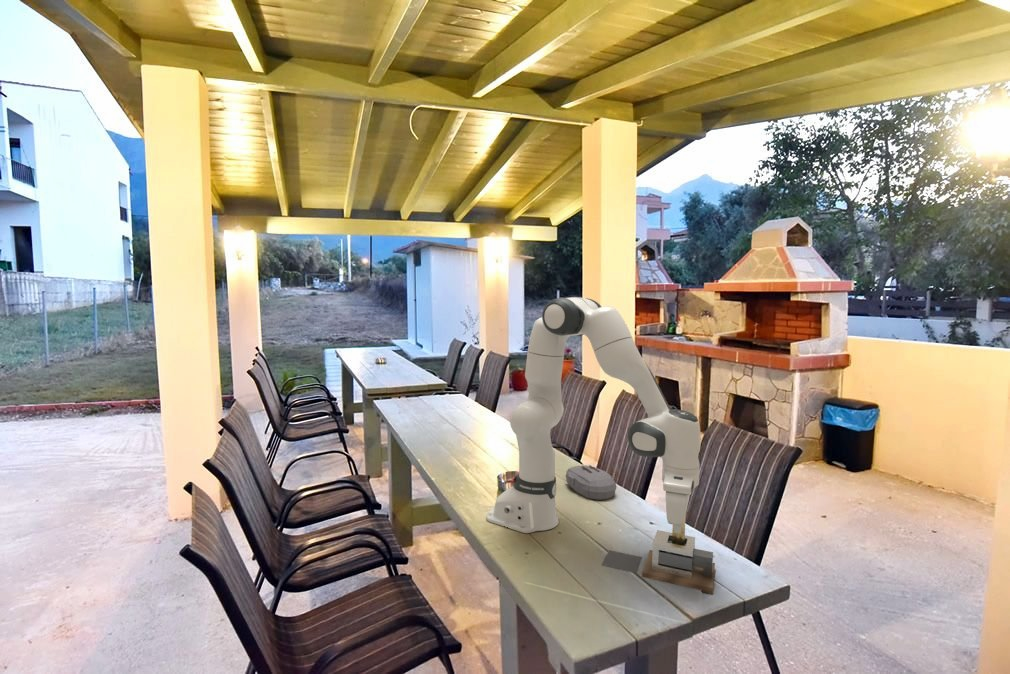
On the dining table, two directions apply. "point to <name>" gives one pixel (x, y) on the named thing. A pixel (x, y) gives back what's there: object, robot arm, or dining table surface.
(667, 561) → the block
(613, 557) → the rubber mat
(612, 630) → the dining table surface
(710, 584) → the walnut base
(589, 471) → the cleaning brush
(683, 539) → the brass pin
